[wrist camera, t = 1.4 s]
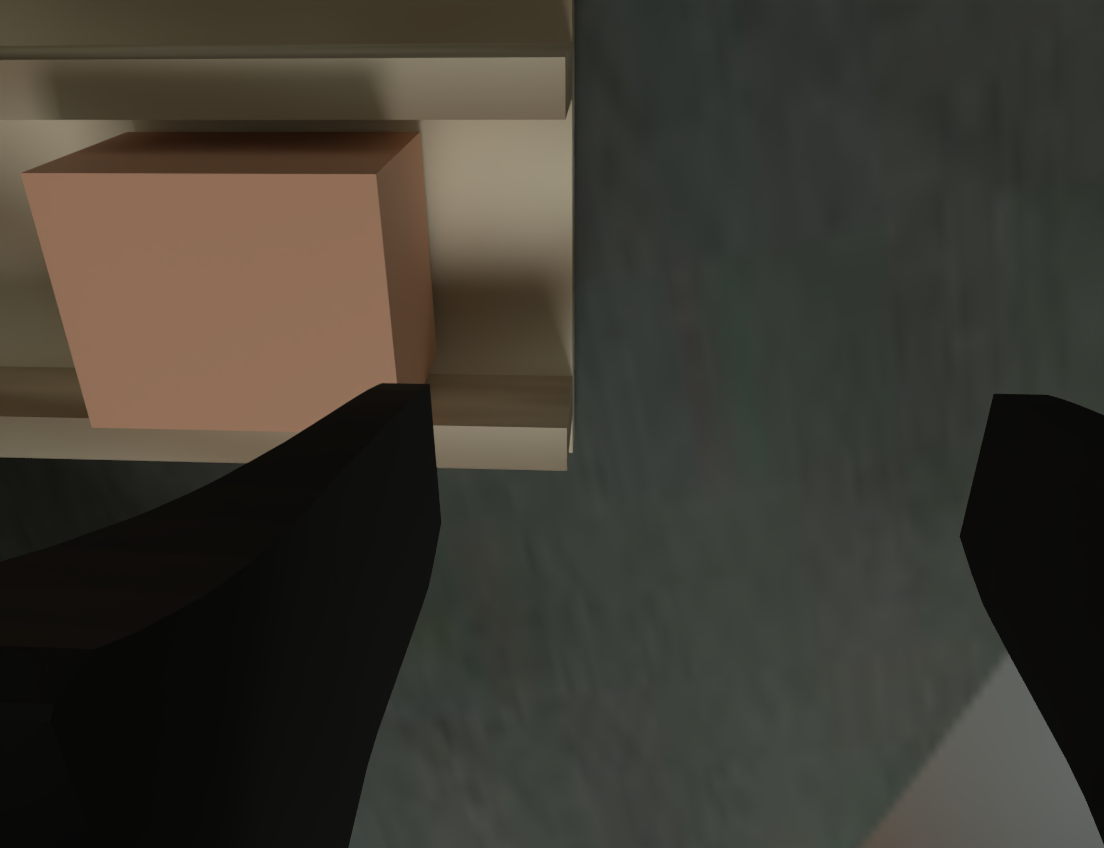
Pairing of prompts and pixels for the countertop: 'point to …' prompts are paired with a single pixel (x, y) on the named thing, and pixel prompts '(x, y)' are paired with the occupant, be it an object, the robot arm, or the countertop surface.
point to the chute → (318, 106)
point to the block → (237, 273)
